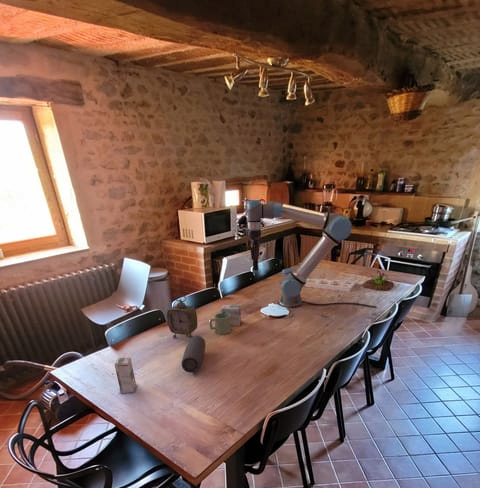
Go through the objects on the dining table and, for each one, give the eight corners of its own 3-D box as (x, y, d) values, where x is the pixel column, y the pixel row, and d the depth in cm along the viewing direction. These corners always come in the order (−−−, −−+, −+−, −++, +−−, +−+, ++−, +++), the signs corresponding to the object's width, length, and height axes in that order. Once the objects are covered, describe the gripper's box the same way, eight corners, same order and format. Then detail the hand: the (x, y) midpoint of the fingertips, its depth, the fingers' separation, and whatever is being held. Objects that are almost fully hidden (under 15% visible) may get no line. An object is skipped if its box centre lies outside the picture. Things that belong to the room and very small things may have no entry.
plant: (369, 280, 275) (371, 266, 270) (396, 284, 265) (398, 269, 259) (360, 288, 261) (362, 272, 256) (388, 292, 251) (390, 276, 245)
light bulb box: (241, 321, 218) (240, 304, 212) (239, 326, 212) (238, 308, 207) (224, 321, 219) (222, 304, 214) (222, 325, 213) (220, 308, 208)
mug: (229, 327, 211) (228, 312, 206) (231, 333, 204) (230, 317, 199) (209, 329, 209) (208, 314, 205) (211, 335, 202) (209, 319, 197)
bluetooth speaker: (189, 352, 185) (187, 334, 180) (207, 351, 185) (205, 334, 180) (181, 375, 166) (178, 356, 161) (201, 375, 165) (199, 355, 160)
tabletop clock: (170, 338, 201) (163, 295, 189) (178, 332, 208) (172, 290, 196) (193, 341, 196) (188, 297, 184) (200, 334, 204) (195, 292, 192)
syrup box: (123, 386, 160) (116, 357, 153) (136, 385, 160) (130, 356, 153) (120, 393, 155) (113, 364, 148) (134, 392, 155) (127, 363, 148)
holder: (291, 284, 276) (291, 281, 275) (300, 278, 289) (300, 274, 288) (349, 291, 255) (350, 288, 254) (356, 284, 268) (357, 281, 267)
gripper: (251, 227, 214) (253, 267, 225) (244, 231, 203) (246, 272, 215) (264, 227, 211) (264, 267, 223) (257, 231, 201) (258, 273, 212)
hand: (255, 270), depth 219 cm, fingers closed
